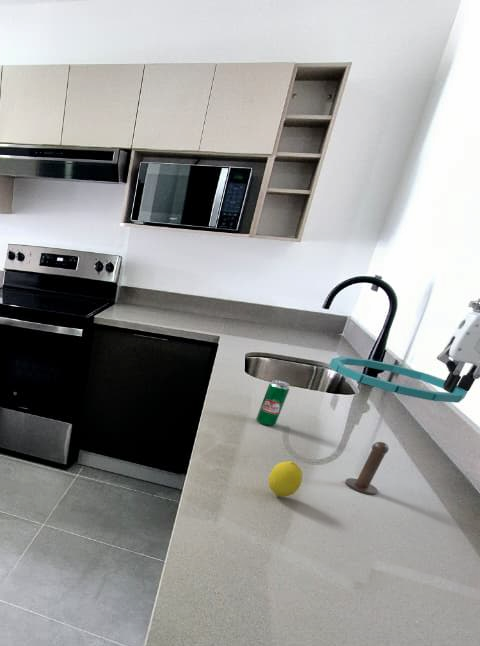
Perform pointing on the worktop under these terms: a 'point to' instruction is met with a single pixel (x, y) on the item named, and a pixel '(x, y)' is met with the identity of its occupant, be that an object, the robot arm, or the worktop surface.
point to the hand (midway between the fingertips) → (453, 391)
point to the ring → (339, 367)
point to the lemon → (285, 479)
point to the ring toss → (369, 470)
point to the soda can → (273, 402)
